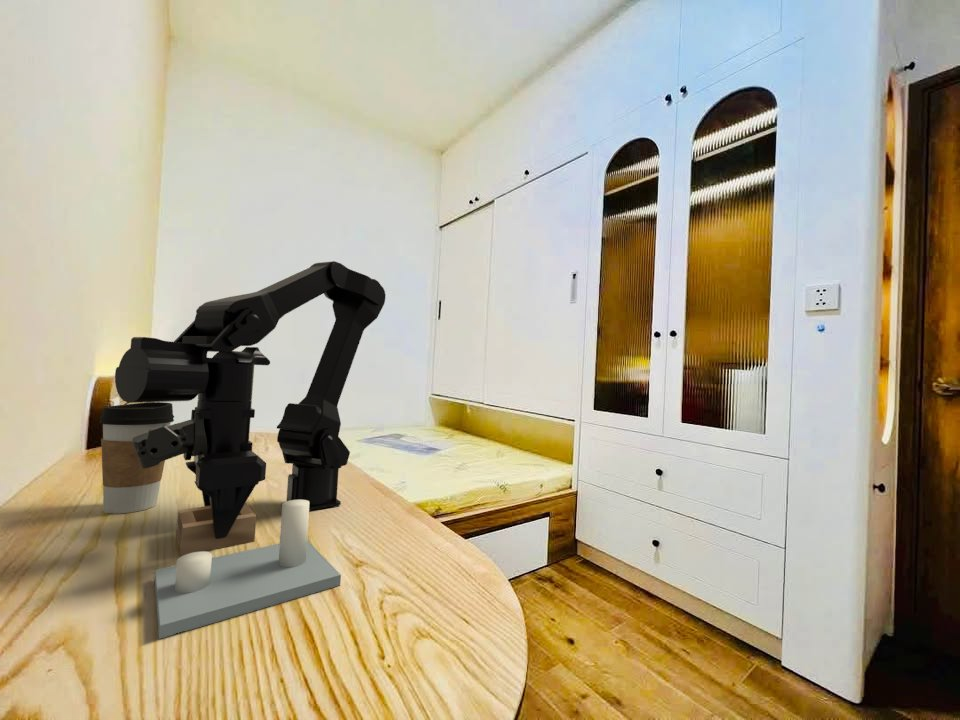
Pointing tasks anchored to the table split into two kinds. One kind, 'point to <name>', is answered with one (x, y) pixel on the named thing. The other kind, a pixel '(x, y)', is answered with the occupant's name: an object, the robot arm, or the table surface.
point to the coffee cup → (130, 456)
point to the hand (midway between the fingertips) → (215, 527)
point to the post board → (242, 578)
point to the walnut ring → (211, 530)
